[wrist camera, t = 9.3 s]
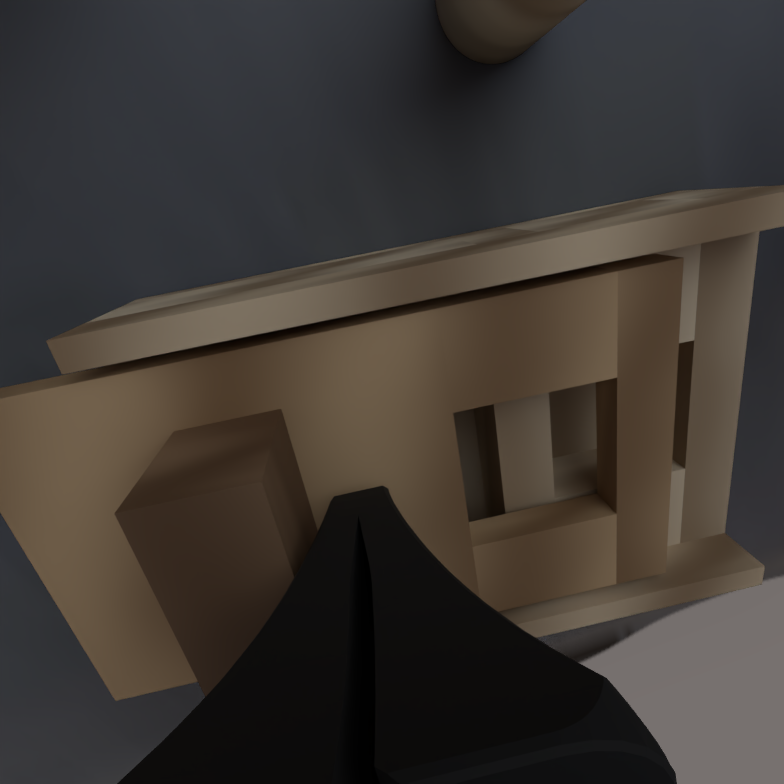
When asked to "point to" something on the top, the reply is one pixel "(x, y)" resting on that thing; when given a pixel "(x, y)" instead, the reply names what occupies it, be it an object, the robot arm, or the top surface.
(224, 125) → the top surface
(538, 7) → the pin
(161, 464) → the lid
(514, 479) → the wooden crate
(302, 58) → the top surface
